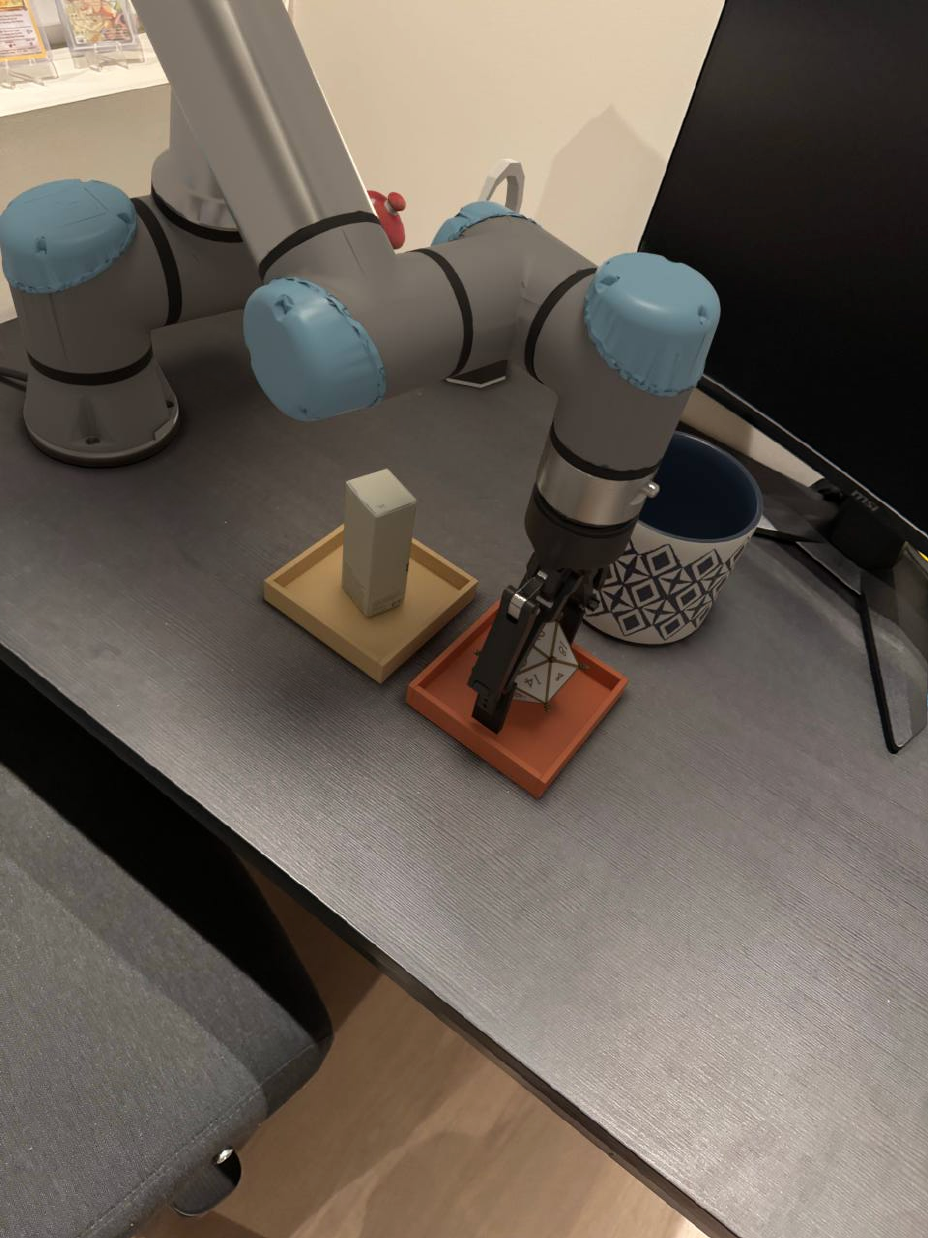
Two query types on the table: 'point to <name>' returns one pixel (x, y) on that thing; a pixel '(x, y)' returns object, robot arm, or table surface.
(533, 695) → the game die
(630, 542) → the planter
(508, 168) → the hook
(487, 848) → the table surface
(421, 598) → the birch tray
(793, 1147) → the table surface
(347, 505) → the box
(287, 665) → the table surface
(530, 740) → the terracotta tray
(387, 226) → the decorative ornament
